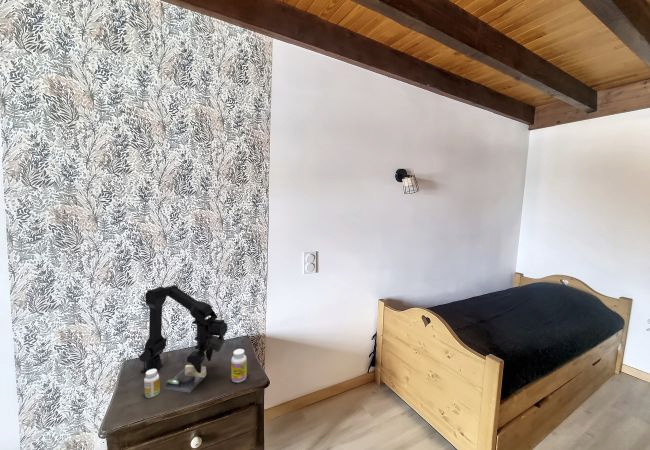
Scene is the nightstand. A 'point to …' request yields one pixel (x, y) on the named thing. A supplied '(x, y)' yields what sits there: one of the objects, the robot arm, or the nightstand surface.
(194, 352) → the robot arm
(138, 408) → the nightstand surface
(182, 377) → the knob
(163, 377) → the nightstand surface
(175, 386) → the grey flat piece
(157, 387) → the supplement bottle
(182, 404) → the nightstand surface
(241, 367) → the supplement bottle
